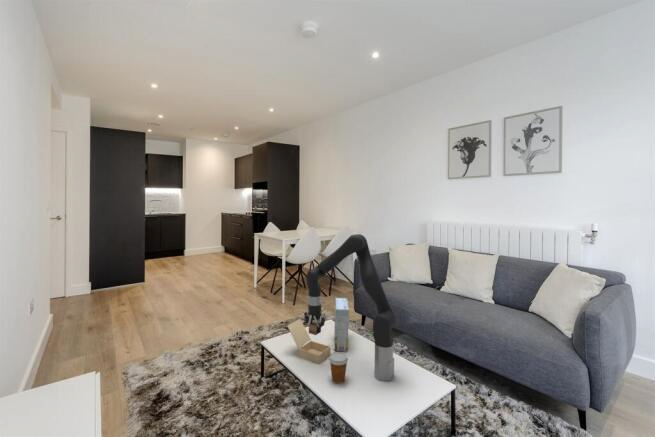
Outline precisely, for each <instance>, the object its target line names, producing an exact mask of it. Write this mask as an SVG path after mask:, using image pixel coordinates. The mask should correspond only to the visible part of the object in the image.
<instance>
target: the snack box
mask: <svg viewBox="0 0 655 437" xmlns="http://www.w3.org/2000/svg"><path fill="white" fill-rule="evenodd" d="M334 303H335V308H334V310H335V311H334V351H335V352H348V350H349V320H350V319H349V317H350V315H349V314H350V311H349V310H350V308H349V302H348V298H345V297H342V298H341V297H335V302H334Z"/></svg>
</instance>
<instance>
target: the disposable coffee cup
mask: <svg viewBox="0 0 655 437" xmlns="http://www.w3.org/2000/svg"><path fill="white" fill-rule="evenodd" d="M328 360H329V364H330V365H329V366H330V372H331V380H332V382H333V383H336V384H342V383H344V382H345V380H346V372H347V366H348V361H349V358H348V355H347V354H346V353H344V352H342V351H335V352H332V353H331V355H330V356H329V357H328Z"/></svg>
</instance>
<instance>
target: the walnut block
mask: <svg viewBox="0 0 655 437" xmlns="http://www.w3.org/2000/svg"><path fill="white" fill-rule="evenodd" d="M308 334H309V335H310V334H311V335H313V336H317V335H319V334H318V333H317V324H316V322H315V321H313V322H312V323H311V324H309V325H308Z"/></svg>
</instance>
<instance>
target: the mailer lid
mask: <svg viewBox="0 0 655 437" xmlns="http://www.w3.org/2000/svg"><path fill="white" fill-rule="evenodd" d="M286 327H287V328H288V330H289V332H290V334H291V337H292V339H293V341H294V342H295V344H296V346H297V349H299V348H301V347H302V346H304V345H305V344H307V343H308V342H310V341H312V339H311V337H310V334H309V332H308V331H307V328H306V327H305V325H304V323H303V321H302V319H301V318H299V319H296V320H295V321H293V322H291V323H290V324H288V325H286Z"/></svg>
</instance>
